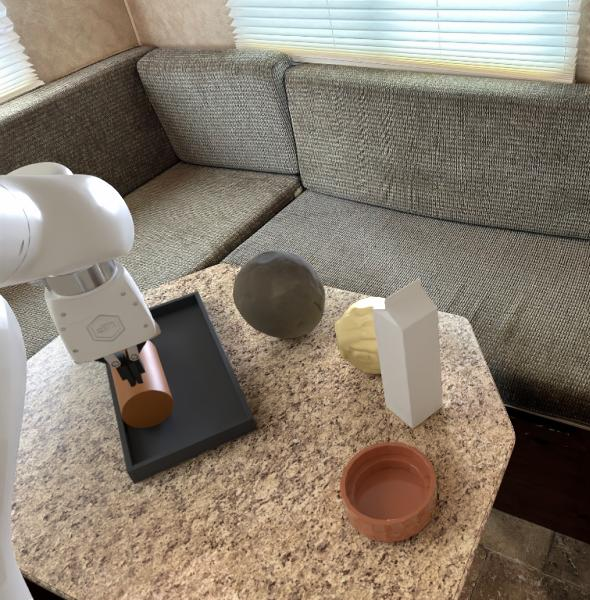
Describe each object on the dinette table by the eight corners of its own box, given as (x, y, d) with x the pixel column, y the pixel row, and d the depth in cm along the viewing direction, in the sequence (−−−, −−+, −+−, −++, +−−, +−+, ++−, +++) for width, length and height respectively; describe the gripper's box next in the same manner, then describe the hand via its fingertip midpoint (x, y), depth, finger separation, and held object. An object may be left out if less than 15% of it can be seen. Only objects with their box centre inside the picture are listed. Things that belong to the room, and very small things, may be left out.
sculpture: (340, 387, 92) (328, 335, 85) (344, 334, 102) (334, 283, 95) (414, 382, 92) (409, 330, 85) (412, 329, 101) (407, 278, 94)
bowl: (369, 562, 71) (365, 542, 68) (331, 487, 79) (325, 466, 76) (454, 515, 74) (453, 494, 71) (409, 449, 83) (406, 428, 80)
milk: (443, 406, 88) (438, 288, 74) (412, 430, 85) (401, 311, 71) (415, 384, 92) (405, 267, 78) (384, 406, 89) (368, 289, 75)
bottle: (111, 408, 83) (95, 334, 96) (137, 435, 88) (119, 361, 101) (158, 382, 85) (137, 312, 98) (182, 410, 90) (158, 340, 102)
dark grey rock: (309, 294, 111) (293, 224, 101) (345, 336, 101) (331, 263, 92) (236, 325, 106) (212, 255, 96) (267, 373, 96) (243, 300, 87)
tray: (134, 484, 82) (126, 472, 80) (103, 336, 106) (97, 325, 105) (258, 429, 87) (254, 417, 86) (202, 301, 112) (197, 290, 110)
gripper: (9, 310, 65) (80, 420, 77) (150, 263, 70) (197, 374, 81) (9, 275, 70) (75, 383, 82) (139, 234, 75) (185, 341, 87)
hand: (136, 378), depth 82 cm, fingers closed
